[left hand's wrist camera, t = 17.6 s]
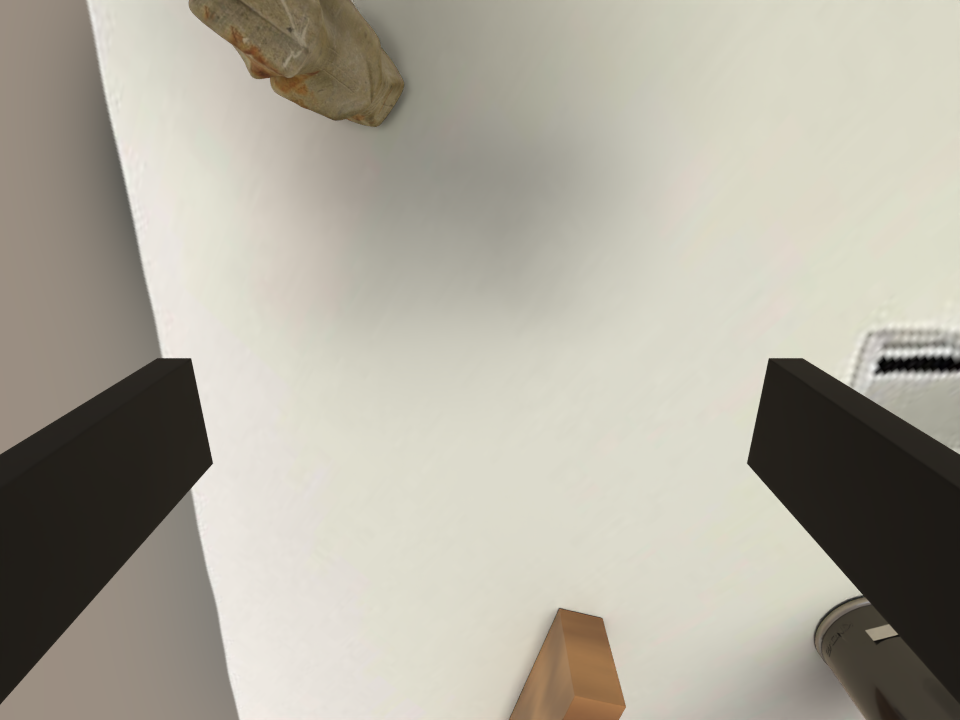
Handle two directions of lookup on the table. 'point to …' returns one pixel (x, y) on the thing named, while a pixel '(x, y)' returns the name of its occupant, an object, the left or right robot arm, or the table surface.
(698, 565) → the table surface
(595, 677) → the bar
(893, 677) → the right robot arm
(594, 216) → the table surface
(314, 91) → the sculpture
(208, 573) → the table surface
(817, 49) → the table surface
